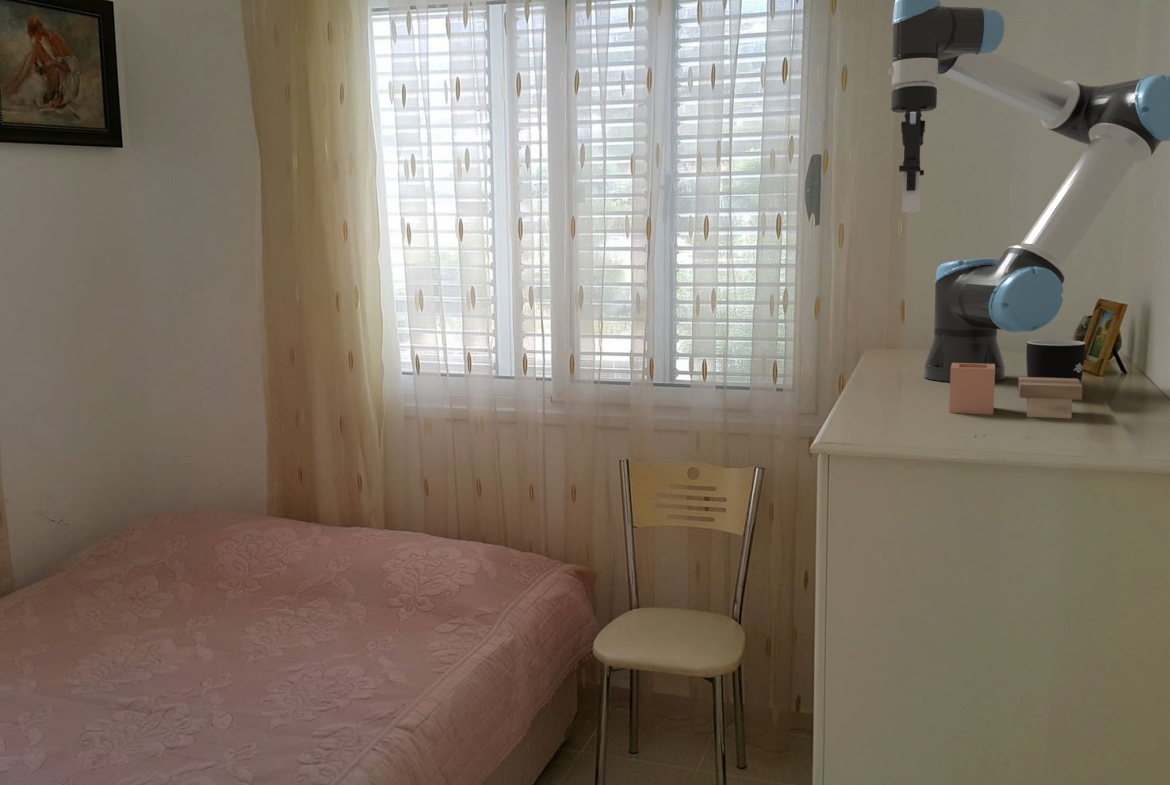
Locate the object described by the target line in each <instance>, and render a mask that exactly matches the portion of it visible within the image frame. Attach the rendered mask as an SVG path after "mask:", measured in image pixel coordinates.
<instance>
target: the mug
mask: <svg viewBox="0 0 1170 785" xmlns="http://www.w3.org/2000/svg"><path fill="white" fill-rule="evenodd" d="M1025 355H1026V374H1027V375H1026V377H1040V378H1078V380H1079V381H1080V383H1081V384H1082V378H1083V373H1084V367H1085V357H1086V356H1085V355H1086V342H1084V341H1081V340H1069V339H1068V340H1067V339H1034V340H1028V341H1027V342H1026V354H1025Z"/></svg>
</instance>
